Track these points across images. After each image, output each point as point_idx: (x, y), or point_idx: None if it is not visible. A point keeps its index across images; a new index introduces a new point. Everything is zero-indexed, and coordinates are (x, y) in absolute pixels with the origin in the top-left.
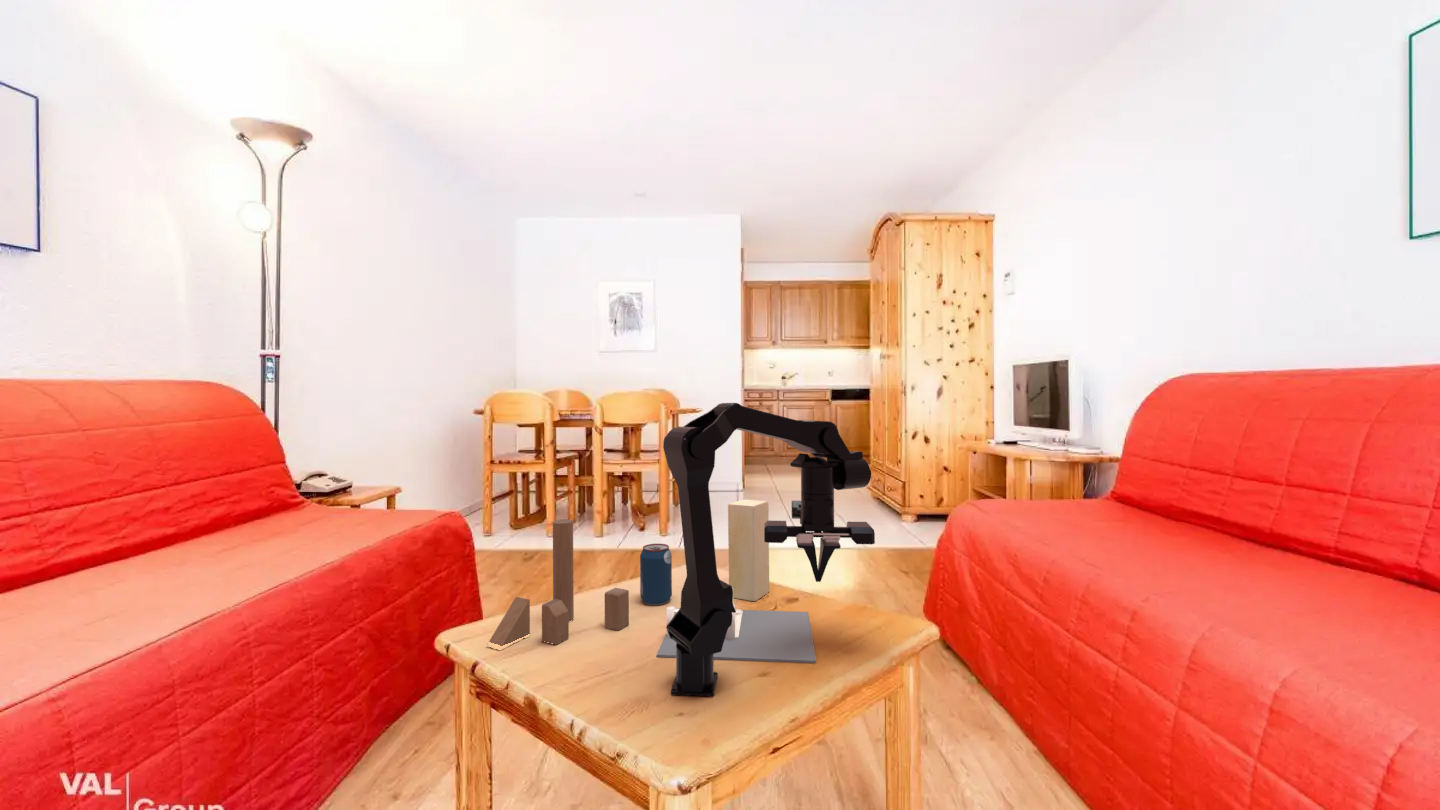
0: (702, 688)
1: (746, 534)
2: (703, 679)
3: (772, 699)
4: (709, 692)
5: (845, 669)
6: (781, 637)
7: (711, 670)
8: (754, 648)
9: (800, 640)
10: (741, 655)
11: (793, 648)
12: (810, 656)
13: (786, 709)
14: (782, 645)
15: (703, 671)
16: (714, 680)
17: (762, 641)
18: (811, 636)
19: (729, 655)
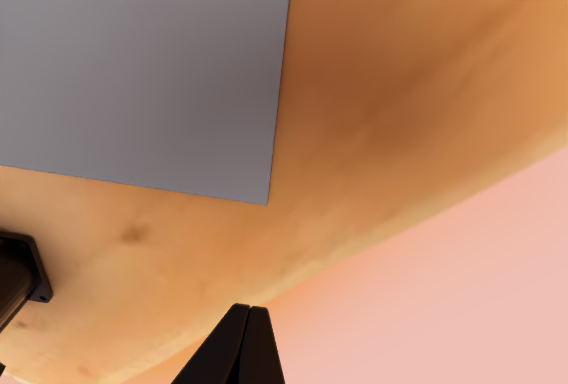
0: (23, 304)
1: None
2: (13, 316)
3: (163, 311)
4: (41, 299)
5: (339, 234)
6: (159, 30)
7: (14, 306)
8: (78, 118)
9: (233, 64)
10: (53, 160)
11: (205, 126)
12: (254, 180)
13: (189, 334)
14: (167, 102)
15: (1, 330)
16: (33, 267)
17: (93, 65)
18: (282, 26)
19: (19, 158)
